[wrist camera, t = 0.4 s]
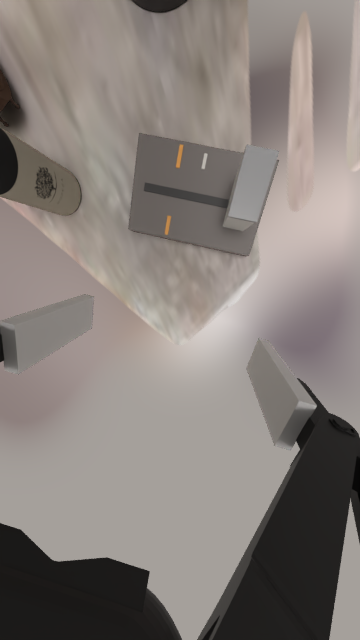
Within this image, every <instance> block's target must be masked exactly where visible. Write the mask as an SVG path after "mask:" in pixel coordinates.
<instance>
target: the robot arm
mask: <svg viewBox="0 0 360 640" xmlns="http://www.w3.org/2000/svg"><path fill="white" fill-rule="evenodd" d="M133 1H134V2H135V3H137V4H138V5H139V6H141V7H143V8H145V9H148V10H151V11H167V10H170V9H173V8H175V7H177V6H179V5H181V4H182V3H183V2H185V1H186V0H133ZM93 304H94V297H93V296H90V295H86V294H84V295H81V296H78V297H75V298H71V299H68V300H65V301H62V302H59V303H55V304H52V305H49V306H46V307H43V308H39V309H36V310H33V311H30V312H27V313H24V314H20V315H17V316H14V317H11V318H8V319H5V320H1V321H0V362H2V361H3V360H4V368H5V371H9V372H12V373H16V374H20V373H22V372H23V371H25V370H26V369H28V368H29V367H31V366H33V365H34V364H36V363H37V362H39V361H41V360H42V359H44V358H45V357H47V356H49V355H50V354H51V353H53V352H55V351H56V350H58V349H60V348H61V347H63V346H64V345H66V344H68V343H69V342H71V341H72V340H74V339H76V338H77V337H78V336H80V335H82V334H83V333H85V332H86V331H88V330H90V329H91V328H92V318H93ZM247 371H248V374H249V377H250V380H251V382H252V385H253V388H254V391H255V393H256V396H257V399H258V401H259V404H260V407H261V410H262V412H263V415H264V418H265V421H266V423H267V426H268V429H269V432H270V434H271V437H272V440H273V443H274V445H275V446H277V447H281V448H284V449H288V450H291V449H292V447H293V445H294V444H295V442H296V441H297V443H298V445H299V448H300V451H299V452H298V454H297V455H296V457H295V459H294V460H293V462H292V464H291V465H290V466H291V467H290V469H289V471H288V472H287V474H286V476H285V478H284V480H283V482H282V484H281V486H280V487H279V489H278V491H277V493H276V495H275V497H274V499H273V501H272V503H271V504H270V506H269V508H268V510H267V512H266V514H265V516H264V518H263V520H262V521H261V523H260V525H259V527H258V529H257V531H256V533H255V535H254V536H253V538H252V540H251V542H250V544H249V546H248V548H247V550H246V551H245V553H244V555H243V557H242V559H241V561H240V563H239V565H238V567H237V568H236V570H235V572H234V574H233V576H232V578H231V580H230V582H229V583H228V585H227V587H226V589H225V591H224V593H223V595H222V596H221V599H220V600H219V602H218V604H217V606H216V608H215V609H214V611H213V613H212V615H211V617H210V618H209V620H208V622H207V624H206V625H205V627H204V629H203V630H202V632H201V634H200V636H199V637H198V639H197V640H329V636H330V630H331V623H332V615H333V610H334V603H335V596H336V590H337V583H338V577H339V570H340V563H341V556H342V550H343V544H344V537H345V530H346V523H347V517H348V510H349V504H350V498H351V502H352V507H353V512H354V517H355V522H356V527H357V532H358V537H359V542H360V438H359V434H358V433H357V431H356V430H355V429H354V428H353V427H352V426H351V425H350V424H349V423H348V422H346V421H345V420H343V419H341V418H340V417H337V416H336V415H333V414H330V413H328V411H327V410H326V409H325V408H324V406H323V405H322V404H321V403H320V401H319V400H318V399H317V398H316V396H315V395H314V394H313V393H312V391H311V390H310V388H309V387H308V386H307V385H306V384H305V383H304V382H303V381H301V380H300V379H298V378H296V377H295V375H294V374H293V373H292V371H291V370H290V369H289V367H288V366H287V365H286V363H285V362H284V361H283V359H282V358H281V357H280V355H279V354H278V353H277V352H276V350H275V349H274V347H273V346H272V345H271V343H270V342H269V341H268V340H264V339H260V338H259V339H258V341H257V344H256V346H255V349H254V351H253V353H252V356H251V359H250V361H249V363H248V366H247ZM148 577H149V571H147V570H144V569H141V568H138V567H134V566H131V565H128V564H125V563H122V562H119V561H116V560H113V559H110V558H96V559H85V560H73V561H61V562H57V561H53V560H52V559H50V558H49V557H48V556H47V555H46V554H45V553H44V552H43V551H42V550H41V549H40V548H39V547H38V546H37V545H36V544H35V543H34V542H33V541H31V539H30V538H29V537H28V536H27V535H25V533H23V532H22V531H21V530H20V529H17V528H14V527H10V526H7V525H4V524H1V523H0V640H182V638H181V636H180V634H179V632H178V630H177V628H176V626H175V624H174V622H173V620H172V618H171V617H170V615H169V613H168V612H167V610H166V609H165V607H164V606H163V604H162V603H161V602H160V601H159V600H158V598H157V597H156V596H155V595H154V594H153V593H152V592H151V591H150V590H149V589H147V583H148Z"/></svg>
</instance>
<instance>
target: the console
mask: <svg viewBox="0 0 360 640" xmlns="http://www.w3.org/2000/svg"><path fill="white" fill-rule="evenodd" d="M243 155H244V153H240V152H235V151H230V150H225V149H219V148H214V147H209V146H204V145H199V144H194V143H188V142H183V141H178V140H173V139H168V138H162V137H157V136H152V135H147V134H142V133H139V138H138V147H137V156H136V165H135V174H134V183H133V192H132V201H131V210H130V219H129V228H128V229H129V230H132V231H134V232H139V233H143V234H148V235H152V236H157V237H161V238H166V239H170V240H175V241H179V242H184V243H188V244H193V245H197V246H202V247H207V248H211V249H216V250H220V251H225V252H229V253H234V254H238V255H243V256H249V254H250V251H251V248H252V245H253V241H254V238H255V235H256V232H257V229H258V226H259V222H260V219H261V216H262V213H263V210H264V206H265V203H266V200H267V197H268V194H269V191H270V187H271V184H272V181H273V178H274V175H275V171H276V168H277V165H278V162H279V160H276V163H275V166H274V169H273V173H272V176H271V179H270V182H269V186H268V189H267V192H266V195H265V198H264V202H263V205H262V208H261V211H260V214H259V218H258V221H257V223H254V224H252V225H251V226H250V227H248V228H247V229H245V230H244V231H239V230H235V229H230V228H226V227H223V223H224V219H225V215H226V211H227V207H228V203H229V199H230V196H231V192H232V188H233V184H234V180H235V177H236V174H237V171H238V169H239V166H240V163H241V161H242V158H243Z"/></svg>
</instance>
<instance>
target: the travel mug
mask: <svg viewBox="0 0 360 640" xmlns="http://www.w3.org/2000/svg"><path fill="white" fill-rule="evenodd" d="M0 197H3V198H6V199H9V200H13V201H16V202H19V203H23V204H26V205H29V206H32V207H36V208H39V209H42V210H46V211H49V212H52V213H56V214H59V215H70V214H72V213H73V212H74V211H75V210H76V209H77V208H78V206H79V203H80V199H81V192H80V187H79V184H78V182H77V180H76V178H75V177H74V175H73V174H72V173H71V172H70V171H68V170H67V169H65V168H64V167H62V166H60V165H59V164H57V163H56V162H54V161H53V160H51V159H50V158H48V157H46V156H45V155H43V154H42V153H40V152H39V151H37V150H36V149H34V148H32V147H31V146H29V145H28V144H26V143H25V142H23V141H22V140H20V139H18V138H17V137H15V136H14V135H12V134H11V133H9V132H8V131H6V130H4V129H3V128H1V127H0Z"/></svg>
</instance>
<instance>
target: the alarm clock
mask: <svg viewBox="0 0 360 640" xmlns="http://www.w3.org/2000/svg"><path fill="white" fill-rule="evenodd" d="M8 101H10V102H11V103H12V104H13V105H15V107H16V108H17V109H19V108H20V107H19V105H18V104H16V103H15V102H14V101H13V100H12V98H11V91H10V88H9V85H8V83H7V81H6V79H5V77H4V75H3V73H2V71H1V70H0V112H1V111H2V110H3V108H4V107H5V105H6V104H7V103H8ZM0 121H1V122H2V123H3V124H4V126H6V127H7V126H8V124H7V122H5V121H4V120H3V119H2V118H1V117H0Z"/></svg>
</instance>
